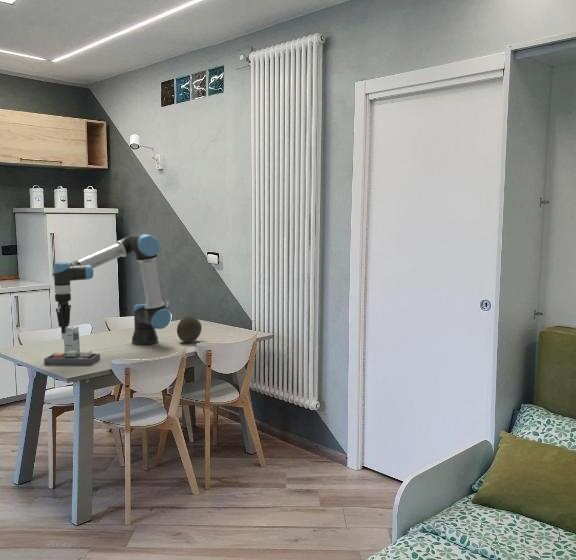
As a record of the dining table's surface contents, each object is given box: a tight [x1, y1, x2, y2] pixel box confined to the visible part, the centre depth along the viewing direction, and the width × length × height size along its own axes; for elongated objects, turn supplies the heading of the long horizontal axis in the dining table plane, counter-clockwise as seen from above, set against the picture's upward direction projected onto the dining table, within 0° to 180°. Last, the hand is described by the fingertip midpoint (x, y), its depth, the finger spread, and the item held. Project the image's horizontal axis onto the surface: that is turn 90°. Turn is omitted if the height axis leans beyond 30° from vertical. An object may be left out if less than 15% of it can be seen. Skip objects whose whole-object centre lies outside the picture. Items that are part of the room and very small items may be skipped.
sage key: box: [66, 351, 78, 357], centre depth 302 cm, size 4×4×2 cm
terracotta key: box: [53, 352, 65, 358], centre depth 302 cm, size 4×4×2 cm
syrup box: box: [63, 325, 81, 353], centre depth 320 cm, size 6×6×14 cm
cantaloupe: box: [176, 316, 202, 344], centre depth 349 cm, size 14×14×15 cm
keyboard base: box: [43, 352, 101, 366], centre depth 302 cm, size 24×12×4 cm, turn 88°
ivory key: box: [79, 350, 93, 357], centre depth 301 cm, size 4×4×2 cm
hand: (64, 339), depth 301 cm, fingers closed
